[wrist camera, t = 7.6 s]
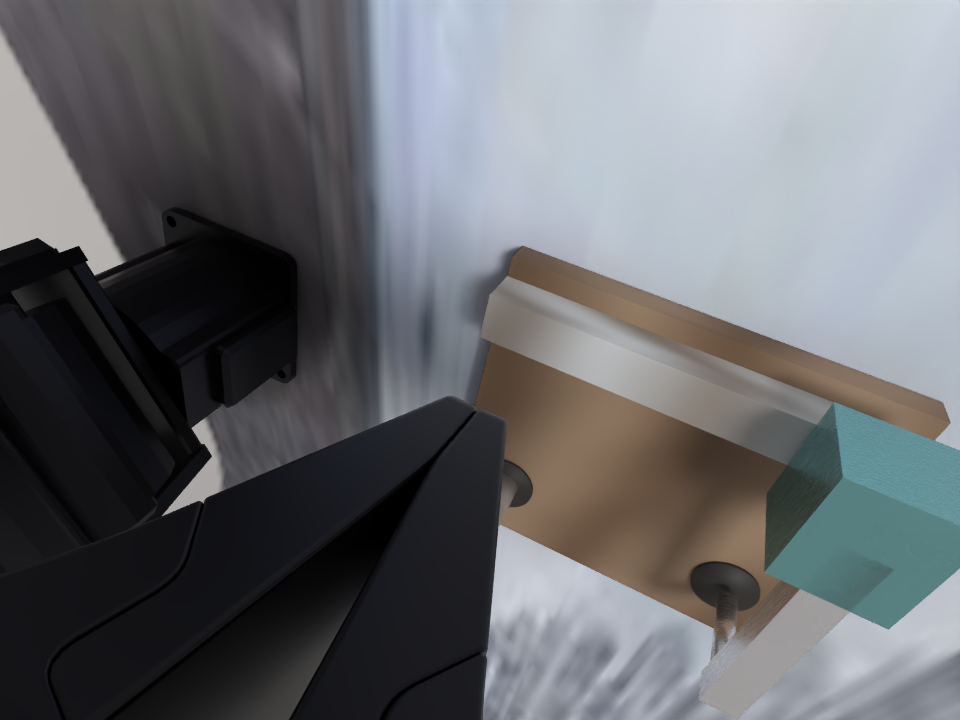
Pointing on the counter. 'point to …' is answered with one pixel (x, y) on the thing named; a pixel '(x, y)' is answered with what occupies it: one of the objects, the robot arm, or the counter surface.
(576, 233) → the counter surface
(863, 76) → the counter surface
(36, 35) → the counter surface
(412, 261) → the counter surface
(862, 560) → the leg
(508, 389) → the plate
